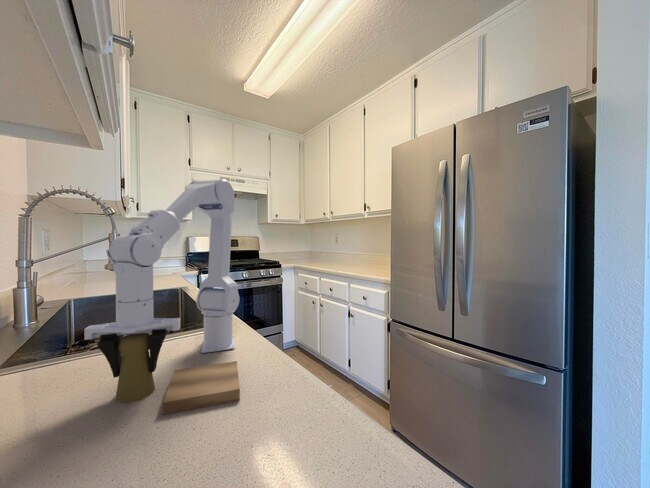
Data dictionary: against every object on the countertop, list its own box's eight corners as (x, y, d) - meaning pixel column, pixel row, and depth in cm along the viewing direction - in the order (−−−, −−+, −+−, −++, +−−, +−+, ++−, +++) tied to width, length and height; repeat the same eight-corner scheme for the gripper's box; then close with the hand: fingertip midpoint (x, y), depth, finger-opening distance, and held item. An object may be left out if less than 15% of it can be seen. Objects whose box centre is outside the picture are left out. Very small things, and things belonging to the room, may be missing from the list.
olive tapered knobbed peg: (135, 404, 47) (134, 341, 47) (106, 400, 48) (106, 338, 48) (162, 386, 53) (162, 330, 53) (136, 383, 54) (136, 328, 54)
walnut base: (175, 379, 56) (174, 370, 56) (236, 370, 60) (236, 361, 60) (162, 415, 44) (162, 402, 44) (239, 400, 49) (239, 388, 49)
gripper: (74, 307, 44) (75, 390, 44) (175, 300, 49) (176, 375, 49) (94, 298, 51) (94, 371, 51) (181, 293, 56) (181, 359, 56)
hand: (135, 372), depth 51 cm, fingers closed on olive tapered knobbed peg, 5 cm apart
